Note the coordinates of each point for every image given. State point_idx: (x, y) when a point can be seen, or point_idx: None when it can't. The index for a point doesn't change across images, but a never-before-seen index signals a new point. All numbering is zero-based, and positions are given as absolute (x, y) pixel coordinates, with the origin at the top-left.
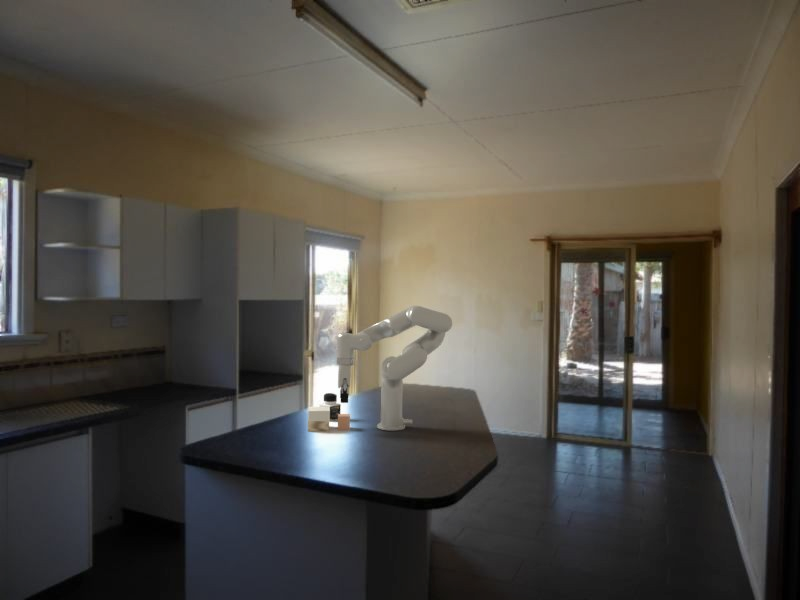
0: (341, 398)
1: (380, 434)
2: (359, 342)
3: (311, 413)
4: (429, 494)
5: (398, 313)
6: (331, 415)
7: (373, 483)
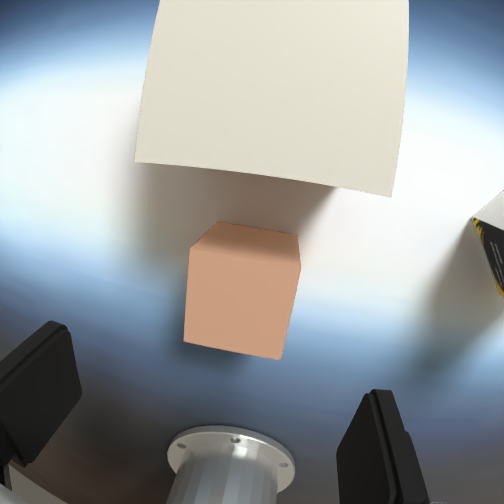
0: (23, 353)
1: (116, 396)
2: None
3: None
4: None
5: None
6: (493, 238)
7: None
